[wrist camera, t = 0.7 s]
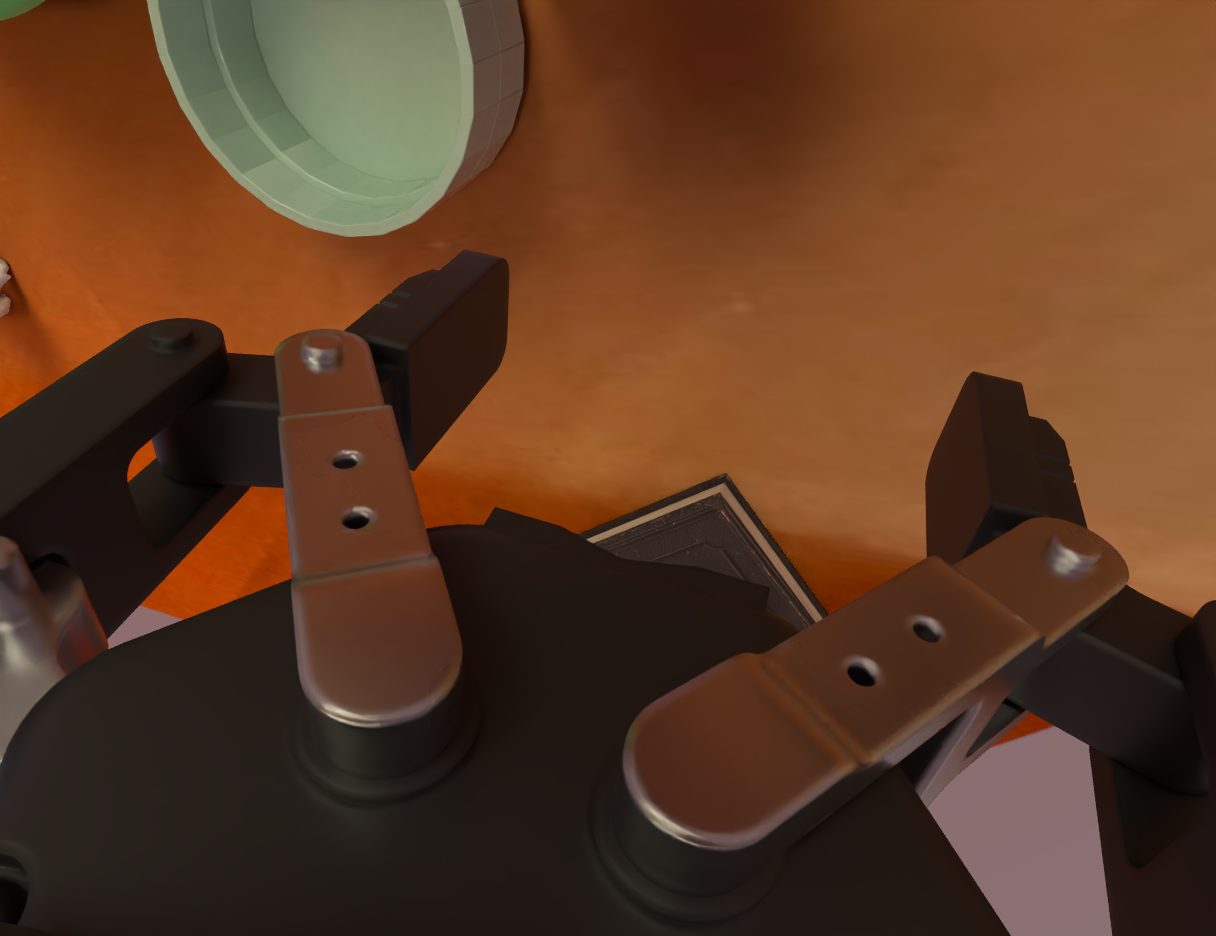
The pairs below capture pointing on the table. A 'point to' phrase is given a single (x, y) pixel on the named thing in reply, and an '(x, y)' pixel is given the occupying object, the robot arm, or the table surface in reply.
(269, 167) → the basin
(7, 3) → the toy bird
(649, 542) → the hardcover book
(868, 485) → the table surface
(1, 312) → the bull figurine
